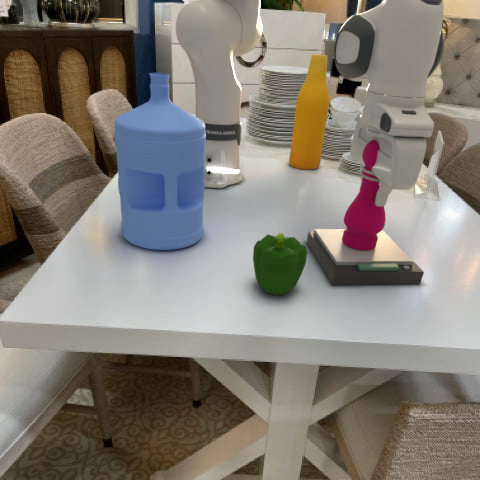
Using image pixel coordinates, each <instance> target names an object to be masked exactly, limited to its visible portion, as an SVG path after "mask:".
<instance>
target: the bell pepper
mask: <svg viewBox="0 0 480 480" xmlns="http://www.w3.org/2000/svg"><path fill="white" fill-rule="evenodd" d="M307 249H308V248H307V247H306V245H305V244H302V243H301V242H300V241H299V240H298V239H296V237H294V236H286V237H285V234H284V233H282V232H279V233H278V234H277V235H276V236H274V235H272V234H266V235H265V236H264V237H263V238H262V239H259V240H257V241H256V242H255V244H254V246H253V254H252V262H253V263H252V264H253V269H254V270H253V271H254V275H255V280H256V282H257V284H258V286H259V287H261V288H262V290H264V291H265V292H266V293H267V294H271V295H274V296H277V295H278V296H283V295H285V294H287V293H289V292H290V291H291V290H292V289H294V288H295V287H296V286H297V284H298V282H299V280H300V278H301V276H302V274H303V271H304V268H305V266H306V263H307V258H308V250H307Z"/></svg>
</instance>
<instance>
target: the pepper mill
mask: <svg viewBox="0 0 480 480" xmlns="http://www.w3.org/2000/svg"><path fill="white" fill-rule="evenodd" d="M378 150H379V151H380V148H379V144H378V142H377V141H376V140H371V141H370V142H369V143H368V144H367V145H366V146H365V148H364V150H363V155H362V159H363V161H364V163H365V166H364V167H363V168H362V173H360V177H361V176H362V177H363V179H362V185H361V184H360V185H361V188H360V187H359V191H358V193H357V195H356V197H355V198H354V199H353V200H352V202H351V203H350V204H349V206H348V207H347V209H346V211H345V214H344V216H343V223H344V225H345V227H346V228H345V229H346V230H344V232H343V237H342V241H343V243H344V244H345V245H347V246H348V247H351V248H354V249H358V250H372V249H374V248H375V247H376V244H377V241H378V236H377V235H376V234H378V233H379V232H381V231H382V230H383V231H384V229H385V226H386V220H387V219H386V218H387V217H386V210H385V206H376V205H375V204H374V203H373V199H374V193H377V192H378V190H379V187H380V186H379V181H380V179H379V178H377V177H376V176H375V175H374V174H373V173H372V172H371V169H372V167H373V166H374V165H375V163H376V160H377V155H378Z"/></svg>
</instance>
